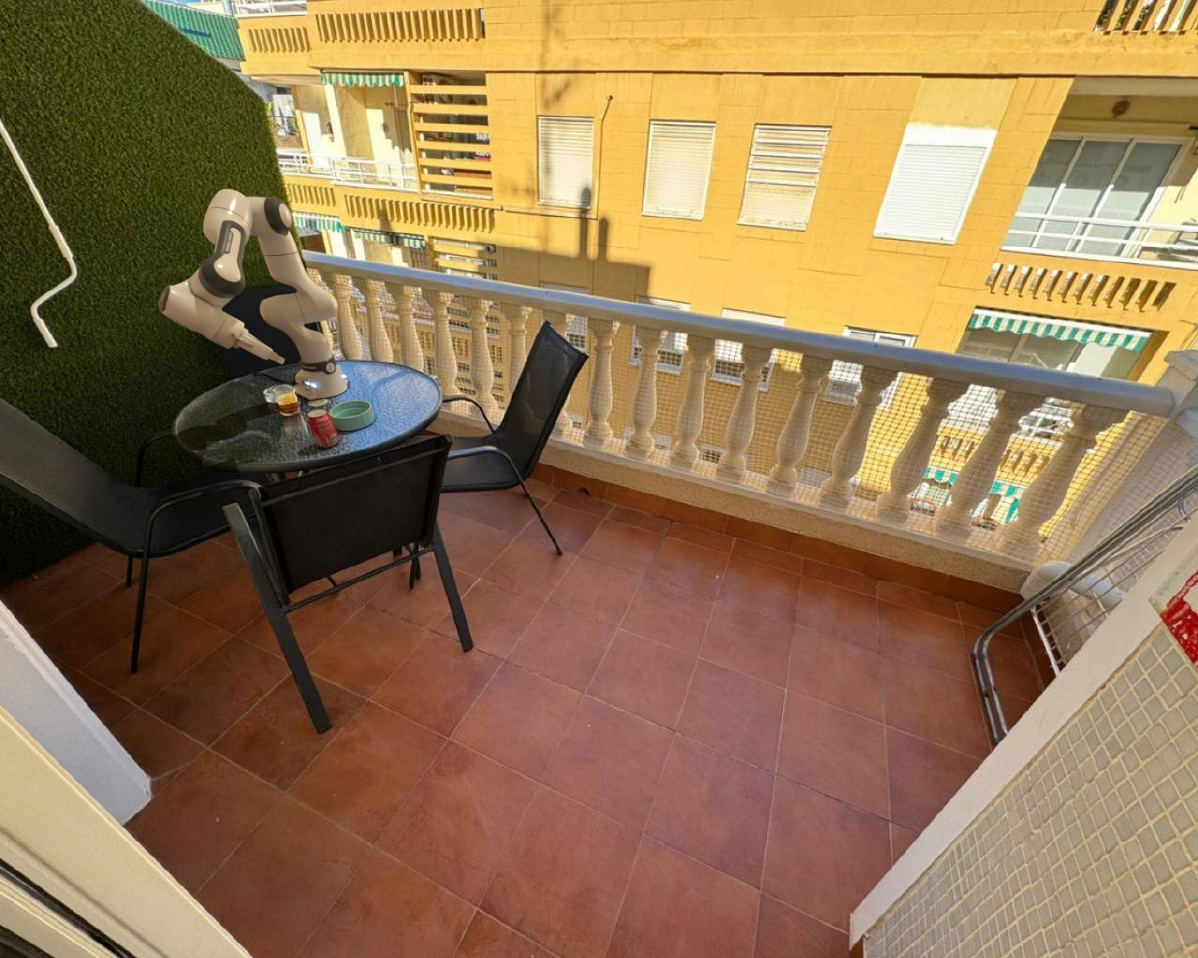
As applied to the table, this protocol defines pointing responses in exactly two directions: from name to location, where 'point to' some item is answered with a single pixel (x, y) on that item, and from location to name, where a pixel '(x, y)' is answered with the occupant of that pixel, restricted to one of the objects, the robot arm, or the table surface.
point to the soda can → (322, 428)
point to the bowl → (352, 415)
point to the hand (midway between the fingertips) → (279, 359)
